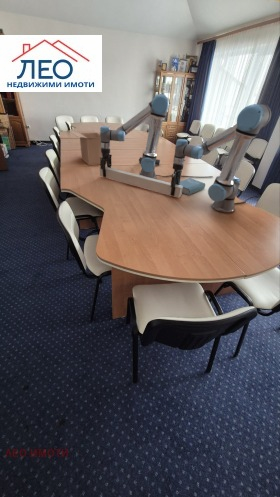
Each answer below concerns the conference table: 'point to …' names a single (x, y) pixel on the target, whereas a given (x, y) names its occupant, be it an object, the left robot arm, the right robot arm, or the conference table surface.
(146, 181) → the beam
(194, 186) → the book
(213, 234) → the conference table surface
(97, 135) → the box
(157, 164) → the laser sight
